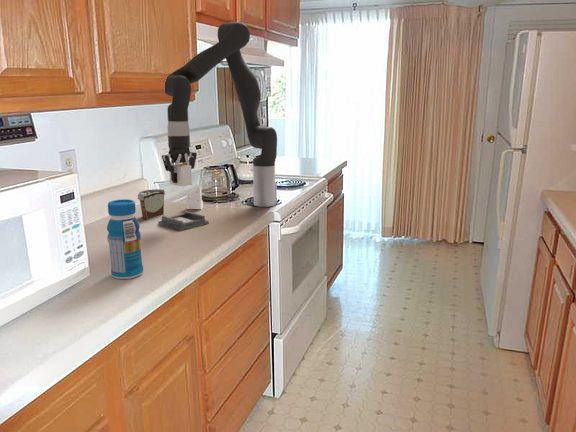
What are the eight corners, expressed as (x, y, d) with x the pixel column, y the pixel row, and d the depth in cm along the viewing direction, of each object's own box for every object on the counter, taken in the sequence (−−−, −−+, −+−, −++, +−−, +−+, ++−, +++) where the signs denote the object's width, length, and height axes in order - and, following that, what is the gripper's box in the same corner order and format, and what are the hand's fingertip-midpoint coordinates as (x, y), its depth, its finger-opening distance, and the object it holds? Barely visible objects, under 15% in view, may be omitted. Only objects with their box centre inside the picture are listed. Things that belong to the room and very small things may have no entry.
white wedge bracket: (211, 204, 200) (199, 186, 198) (191, 215, 202) (179, 197, 200) (213, 202, 203) (202, 184, 202) (193, 213, 205) (182, 195, 204)
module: (180, 182, 180) (179, 162, 178) (191, 184, 175) (191, 164, 174) (170, 183, 177) (169, 164, 175) (181, 186, 172) (180, 166, 170)
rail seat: (187, 217, 189) (186, 210, 188) (208, 223, 180) (208, 215, 179) (158, 224, 179) (157, 216, 178) (179, 230, 171) (179, 222, 170)
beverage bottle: (106, 280, 126) (99, 205, 121) (116, 268, 135) (109, 198, 130) (139, 280, 127) (133, 205, 122) (147, 268, 135) (141, 198, 130)
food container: (154, 212, 197) (153, 187, 194) (166, 213, 194) (164, 189, 192) (132, 219, 186) (130, 193, 184) (144, 221, 184) (142, 195, 181)
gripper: (188, 132, 179) (190, 178, 183) (155, 134, 169) (157, 183, 173) (201, 133, 174) (203, 180, 179) (167, 135, 164) (170, 185, 168)
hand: (180, 181), depth 176 cm, fingers closed on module, 4 cm apart
